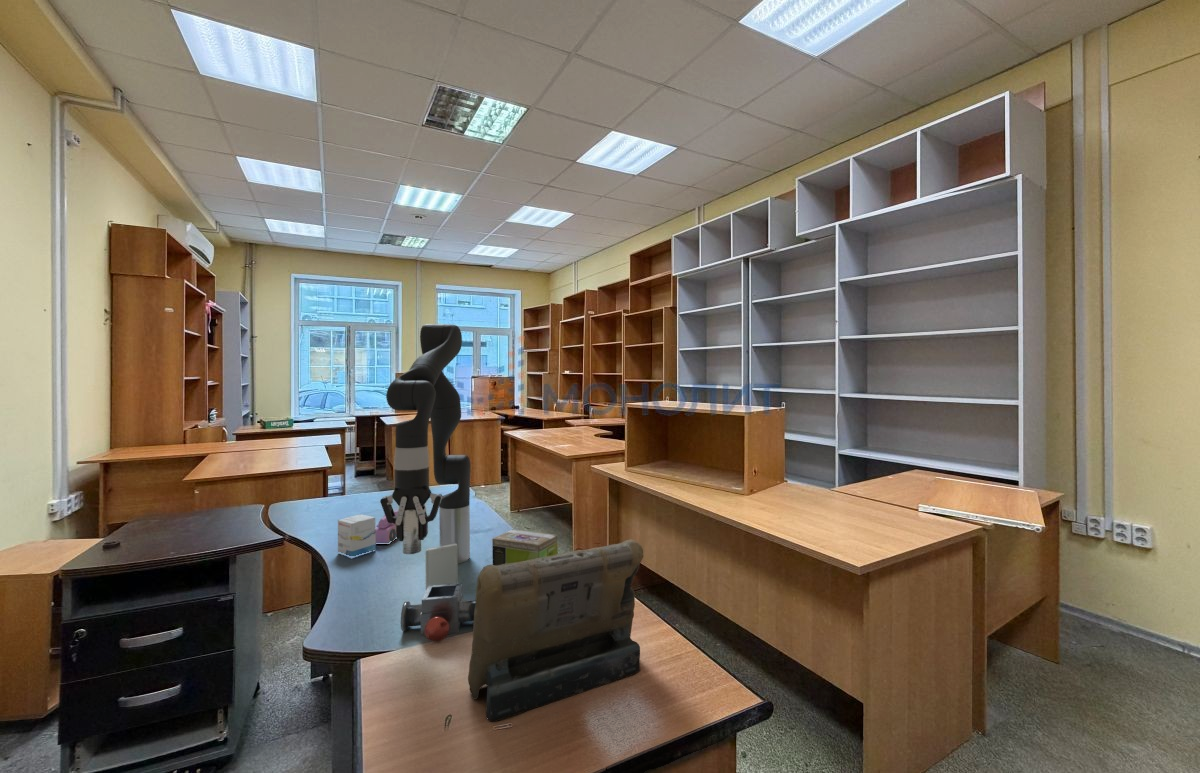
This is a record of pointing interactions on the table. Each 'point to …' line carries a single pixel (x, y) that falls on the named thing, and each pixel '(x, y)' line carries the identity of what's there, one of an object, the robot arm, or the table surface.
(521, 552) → the tea box
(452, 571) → the external hard drive
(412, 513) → the pipe stub
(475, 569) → the table surface
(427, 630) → the valve body
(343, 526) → the ink box
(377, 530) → the pink toy car
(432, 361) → the robot arm
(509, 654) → the tablet
